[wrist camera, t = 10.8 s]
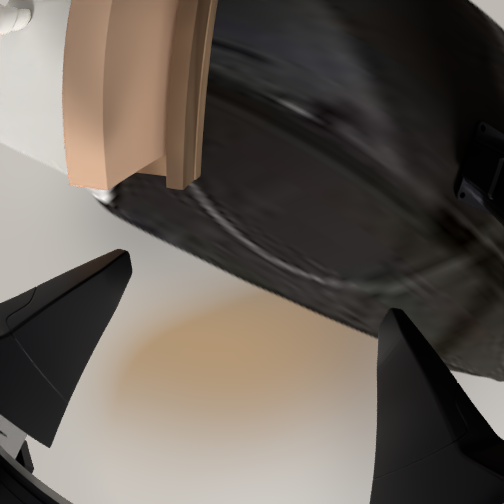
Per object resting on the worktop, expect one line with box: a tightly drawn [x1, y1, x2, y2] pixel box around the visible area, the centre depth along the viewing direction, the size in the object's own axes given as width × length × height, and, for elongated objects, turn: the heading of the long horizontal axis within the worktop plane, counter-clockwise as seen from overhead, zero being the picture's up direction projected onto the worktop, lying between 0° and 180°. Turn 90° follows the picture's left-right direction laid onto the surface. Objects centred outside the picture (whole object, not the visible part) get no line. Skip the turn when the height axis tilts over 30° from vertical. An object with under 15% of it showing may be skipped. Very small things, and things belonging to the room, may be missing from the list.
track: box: [137, 0, 218, 190], centre depth 14 cm, size 8×16×3 cm, turn 173°
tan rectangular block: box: [62, 0, 179, 190], centre depth 12 cm, size 3×12×7 cm, turn 173°
